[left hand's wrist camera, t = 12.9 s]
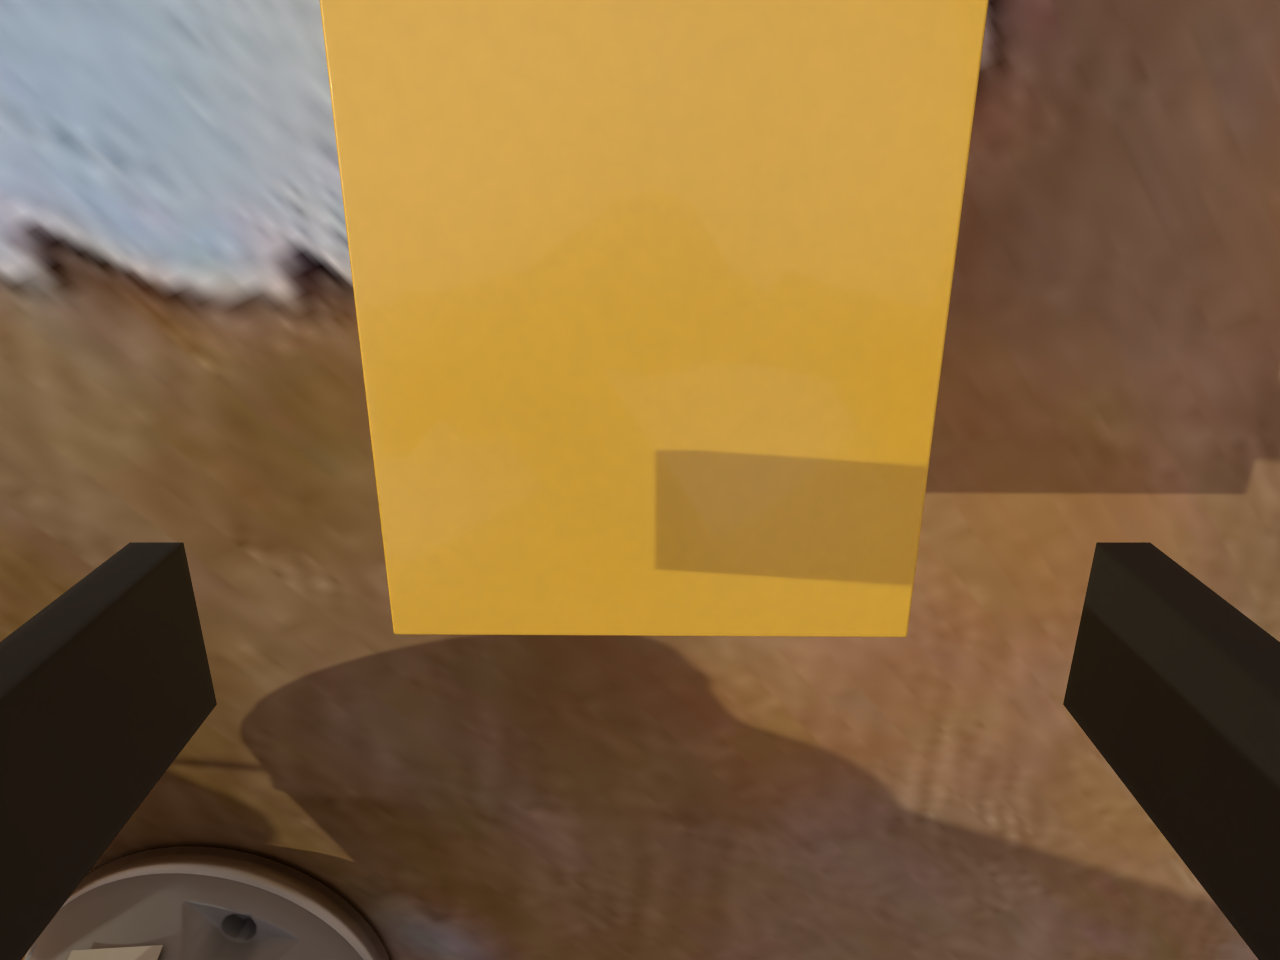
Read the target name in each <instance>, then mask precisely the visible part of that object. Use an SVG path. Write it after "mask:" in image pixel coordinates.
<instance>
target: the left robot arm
mask: <svg viewBox="0 0 1280 960" xmlns="http://www.w3.org/2000/svg"><path fill="white" fill-rule="evenodd" d="M216 705H217V704H216V699H215V694H214V689H213V684H212V679H211V674H210V670H209V665H208V660H207V655H206V650H205V645H204V641H203V636H202V631H201V626H200V621H199V616H198V611H197V607H196V602H195V597H194V592H193V587H192V582H191V578H190V573H189V568H188V563H187V558H186V553H185V548H184V544H183V543H129V544H128V545H126V546H125V547H124V548H122V549H121V550H120V551H119V552H117V553H116V554H115V555H113V556H112V557H111V558H109V559H108V560H107V561H105V562H104V563H103V564H102V565H100V566H99V567H98V568H96V569H95V570H94V571H92V572H91V573H90V574H89V575H87V576H86V577H85V578H83V579H82V580H81V581H79V582H78V583H77V584H76V585H74V586H73V587H72V588H70V589H69V590H68V591H66V592H65V593H64V594H63V595H61V596H60V597H59V598H57V599H56V600H55V601H53V602H52V603H51V604H49V605H48V606H47V607H46V608H44V609H43V610H42V611H40V612H39V613H38V614H36V615H35V616H34V617H33V618H31V619H30V620H29V621H27V622H26V623H25V624H23V625H22V626H21V627H20V628H18V629H17V630H16V631H14V632H13V633H12V634H10V635H9V636H8V637H6V638H5V639H4V640H3V641H1V642H0V960H21V959H22V958H23V957H24V955H25V954H26V953H27V954H26V956H25V959H24V960H390V959H389V957H388V954H387V952H386V950H385V948H384V946H383V944H382V943H381V941H380V939H379V937H378V936H377V935H376V933H375V932H374V930H373V929H372V928H371V926H370V925H369V924H368V923H367V922H366V920H365V919H364V918H363V917H362V916H361V915H360V914H359V913H358V912H357V911H356V910H355V909H354V908H353V907H352V906H351V905H350V904H349V903H348V902H346V901H345V900H344V899H343V898H341V897H340V896H339V895H338V894H336V893H335V892H334V891H332V890H331V889H329V888H328V887H326V886H325V885H323V884H322V883H320V882H318V881H317V880H315V879H313V878H311V877H310V876H308V875H306V874H304V873H302V872H300V871H298V870H295V869H293V868H291V867H289V866H286V865H284V864H281V863H279V862H276V861H273V860H270V859H267V858H264V857H261V856H257V855H254V854H249V853H245V852H241V851H236V850H230V849H223V848H216V847H203V846H178V847H164V848H158V849H152V850H146V851H142V852H138V853H134V854H130V855H127V856H124V857H122V858H119V859H116V860H114V861H112V862H110V863H107V864H105V865H103V866H101V867H100V868H98V869H96V870H95V871H93V872H91V873H90V874H88V875H87V876H86V874H87V873H88V872H89V871H90V869H91V868H92V867H93V865H94V864H95V863H96V861H97V860H98V859H99V857H100V856H101V855H102V854H103V852H104V851H105V850H106V848H107V847H108V846H109V844H110V843H111V842H112V840H113V839H114V838H115V837H116V835H117V834H118V833H119V831H120V830H121V829H122V827H123V826H124V825H125V823H126V822H127V821H128V820H129V818H130V817H131V816H132V814H133V813H134V812H135V810H136V809H137V808H138V806H139V805H140V804H141V803H142V801H143V800H144V799H145V797H146V796H147V795H148V793H149V792H150V791H151V789H152V788H153V787H154V786H155V784H156V783H157V782H158V780H159V779H160V778H161V776H162V775H163V774H164V773H165V771H166V770H167V769H168V767H169V766H170V765H171V763H172V762H173V761H174V759H175V758H176V757H177V756H178V754H179V753H180V752H181V750H182V749H183V748H184V746H185V745H186V744H187V742H188V741H189V740H190V739H191V737H192V736H193V735H194V733H195V732H196V731H197V729H198V728H199V727H200V725H201V724H202V723H203V722H204V720H205V719H206V718H207V716H208V715H209V714H210V712H211V711H212V710H213V708H214V707H215V706H216ZM1063 705H1064V706H1065V707H1066V708H1067V710H1068V711H1069V712H1070V714H1071V715H1072V716H1073V718H1074V719H1075V720H1076V722H1077V723H1078V724H1079V725H1080V727H1081V728H1082V729H1083V731H1084V732H1085V733H1086V735H1087V736H1088V737H1089V739H1090V740H1091V741H1092V742H1093V744H1094V745H1095V746H1096V748H1097V749H1098V750H1099V752H1100V753H1101V754H1102V756H1103V757H1104V758H1105V759H1106V761H1107V762H1108V763H1109V765H1110V766H1111V767H1112V769H1113V770H1114V771H1115V773H1116V774H1117V775H1118V776H1119V778H1120V779H1121V780H1122V782H1123V783H1124V784H1125V786H1126V787H1127V788H1128V789H1129V791H1130V792H1131V793H1132V795H1133V796H1134V797H1135V799H1136V800H1137V801H1138V803H1139V804H1140V805H1141V806H1142V808H1143V809H1144V810H1145V812H1146V813H1147V814H1148V816H1149V817H1150V818H1151V820H1152V821H1153V822H1154V823H1155V825H1156V826H1157V827H1158V829H1159V830H1160V831H1161V833H1162V834H1163V835H1164V837H1165V838H1166V839H1167V840H1168V842H1169V843H1170V844H1171V846H1172V847H1173V848H1174V850H1175V851H1176V852H1177V854H1178V855H1179V856H1180V857H1181V859H1182V860H1183V861H1184V863H1185V864H1186V865H1187V867H1188V868H1189V869H1190V871H1191V872H1192V873H1193V874H1194V876H1195V877H1196V878H1197V880H1198V881H1199V882H1200V884H1201V885H1202V886H1203V887H1204V889H1205V890H1206V891H1207V893H1208V894H1209V895H1210V897H1211V898H1212V899H1213V901H1214V902H1215V903H1216V904H1217V906H1218V907H1219V908H1220V910H1221V911H1222V912H1223V914H1224V915H1225V916H1226V918H1227V919H1228V920H1229V921H1230V923H1231V924H1232V925H1233V927H1234V928H1235V929H1236V931H1237V932H1238V933H1239V935H1240V936H1241V937H1242V938H1243V940H1244V941H1245V942H1246V944H1247V945H1248V946H1249V948H1250V949H1251V950H1252V952H1253V953H1254V954H1255V955H1256V957H1257V958H1258V959H1259V960H1280V642H1279V641H1277V640H1276V639H1275V638H1274V637H1272V636H1271V635H1270V634H1268V633H1267V632H1266V631H1264V630H1263V629H1262V628H1260V627H1259V626H1258V625H1257V624H1255V623H1254V622H1253V621H1251V620H1250V619H1249V618H1247V617H1246V616H1245V615H1244V614H1242V613H1241V612H1240V611H1238V610H1237V609H1236V608H1234V607H1233V606H1232V605H1231V604H1229V603H1228V602H1227V601H1225V600H1224V599H1223V598H1221V597H1220V596H1219V595H1217V594H1216V593H1215V592H1214V591H1212V590H1211V589H1210V588H1208V587H1207V586H1206V585H1204V584H1203V583H1202V582H1201V581H1199V580H1198V579H1197V578H1195V577H1194V576H1193V575H1191V574H1190V573H1189V572H1188V571H1186V570H1185V569H1184V568H1182V567H1181V566H1180V565H1178V564H1177V563H1176V562H1175V561H1173V560H1172V559H1171V558H1169V557H1168V556H1167V555H1165V554H1164V553H1163V552H1161V551H1160V550H1159V549H1158V548H1156V547H1155V546H1154V545H1152V544H1151V543H1097V544H1096V548H1095V553H1094V558H1093V563H1092V568H1091V573H1090V578H1089V582H1088V587H1087V592H1086V597H1085V602H1084V607H1083V611H1082V616H1081V621H1080V626H1079V631H1078V636H1077V641H1076V645H1075V650H1074V655H1073V660H1072V665H1071V670H1070V674H1069V679H1068V684H1067V689H1066V694H1065V699H1064V704H1063ZM85 876H86V877H85ZM84 877H85V878H84ZM28 950H29V951H28Z"/></svg>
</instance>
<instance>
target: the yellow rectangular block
mask: <svg viewBox="0 0 1280 960" xmlns="http://www.w3.org/2000/svg"><path fill="white" fill-rule="evenodd" d="M988 1H989V0H320V7H321V16H322V24H323V33H324V42H325V50H326V59H327V67H328V76H329V84H330V93H331V101H332V110H333V118H334V127H335V135H336V144H337V152H338V161H339V169H340V178H341V186H342V195H343V204H344V212H345V221H346V229H347V238H348V246H349V255H350V263H351V272H352V280H353V289H354V297H355V306H356V314H357V323H358V331H359V340H360V348H361V357H362V366H363V374H364V383H365V391H366V400H367V408H368V417H369V425H370V434H371V442H372V451H373V459H374V468H375V476H376V485H377V493H378V502H379V511H380V519H381V528H382V536H383V545H384V553H385V562H386V570H387V579H388V587H389V596H390V604H391V613H392V621H393V630H394V633H395V634H458V635H650V636H841V637H906V636H907V631H908V624H909V616H910V608H911V600H912V593H913V585H914V577H915V569H916V561H917V554H918V546H919V538H920V530H921V522H922V515H923V507H924V499H925V491H926V484H927V476H928V468H929V460H930V452H931V445H932V437H933V429H934V421H935V414H936V406H937V398H938V390H939V382H940V375H941V367H942V359H943V351H944V343H945V336H946V328H947V320H948V312H949V305H950V297H951V289H952V281H953V273H954V266H955V258H956V250H957V242H958V234H959V227H960V219H961V211H962V203H963V196H964V188H965V180H966V172H967V164H968V157H969V149H970V141H971V133H972V125H973V118H974V110H975V102H976V94H977V87H978V79H979V71H980V63H981V55H982V48H983V40H984V32H985V24H986V16H987V9H988Z"/></svg>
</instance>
